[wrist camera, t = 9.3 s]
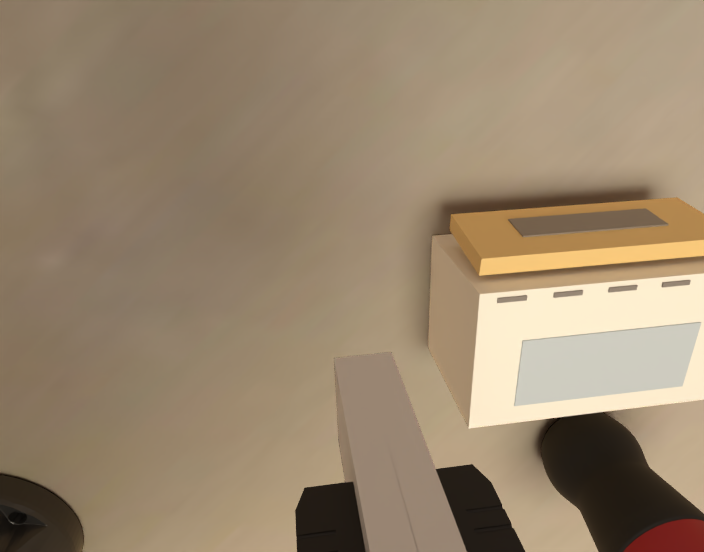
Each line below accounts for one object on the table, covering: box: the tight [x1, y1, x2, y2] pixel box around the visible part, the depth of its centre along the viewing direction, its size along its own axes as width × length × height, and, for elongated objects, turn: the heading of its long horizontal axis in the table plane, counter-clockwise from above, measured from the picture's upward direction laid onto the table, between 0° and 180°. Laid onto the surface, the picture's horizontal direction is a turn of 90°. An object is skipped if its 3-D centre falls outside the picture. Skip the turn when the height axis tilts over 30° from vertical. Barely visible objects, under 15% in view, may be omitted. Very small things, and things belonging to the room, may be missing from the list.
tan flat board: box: [450, 198, 704, 276], centre depth 34 cm, size 17×6×1 cm
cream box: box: [428, 234, 704, 428], centre depth 37 cm, size 18×10×10 cm, turn 92°
